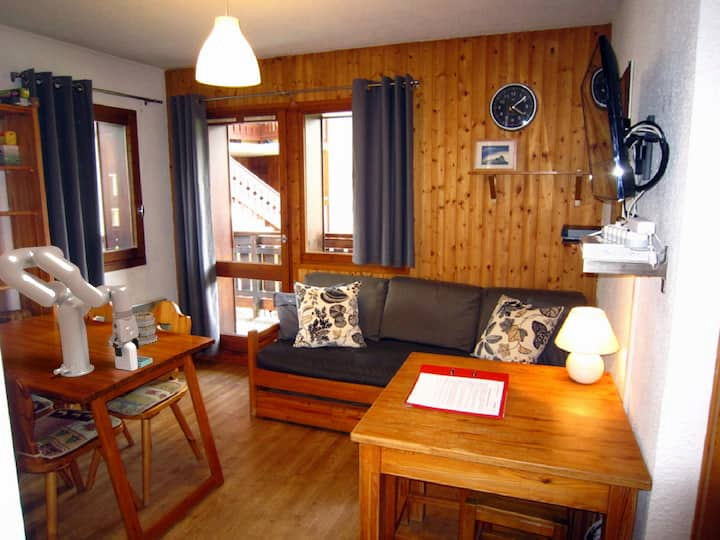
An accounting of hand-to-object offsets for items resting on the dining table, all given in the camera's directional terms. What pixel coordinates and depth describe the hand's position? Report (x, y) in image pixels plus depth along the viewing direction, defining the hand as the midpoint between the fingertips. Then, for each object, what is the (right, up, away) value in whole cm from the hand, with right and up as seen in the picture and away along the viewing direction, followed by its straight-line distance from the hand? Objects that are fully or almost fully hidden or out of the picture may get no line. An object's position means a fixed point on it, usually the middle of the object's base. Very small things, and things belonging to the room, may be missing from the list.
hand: (127, 352), depth 220 cm
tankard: (-11, -1, +36) cm, 38 cm away
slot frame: (0, -6, +8) cm, 10 cm away
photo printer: (-1, -7, +1) cm, 7 cm away
